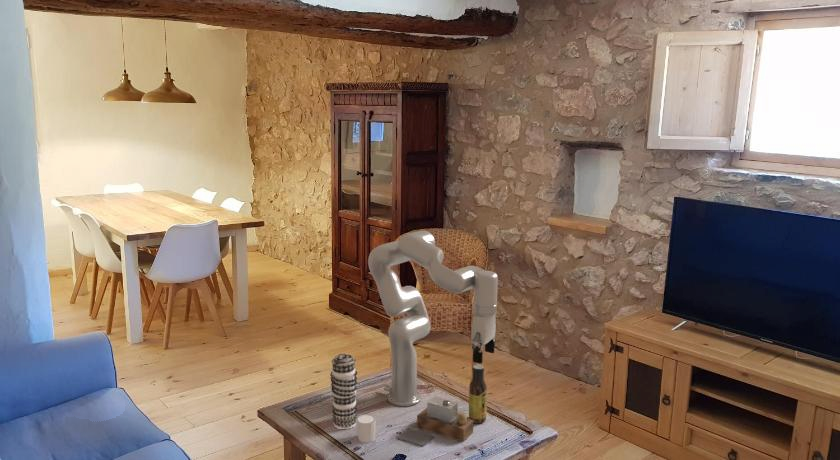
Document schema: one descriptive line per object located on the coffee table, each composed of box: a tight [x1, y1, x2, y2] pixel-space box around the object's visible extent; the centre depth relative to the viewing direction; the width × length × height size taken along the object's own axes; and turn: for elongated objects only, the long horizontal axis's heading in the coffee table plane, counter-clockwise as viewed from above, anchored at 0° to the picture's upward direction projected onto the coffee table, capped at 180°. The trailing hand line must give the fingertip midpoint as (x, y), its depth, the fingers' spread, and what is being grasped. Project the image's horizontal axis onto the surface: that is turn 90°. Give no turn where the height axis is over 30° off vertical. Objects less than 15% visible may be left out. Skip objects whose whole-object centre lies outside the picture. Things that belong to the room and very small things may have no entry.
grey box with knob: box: [426, 396, 459, 423], centre depth 215 cm, size 9×5×6 cm, turn 59°
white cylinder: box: [355, 413, 377, 443], centre depth 210 cm, size 7×7×7 cm
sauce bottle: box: [468, 364, 488, 424], centre depth 221 cm, size 7×6×20 cm
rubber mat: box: [396, 427, 435, 448], centre depth 211 cm, size 10×7×1 cm
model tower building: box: [329, 353, 358, 430], centre depth 218 cm, size 9×9×25 cm
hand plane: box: [416, 407, 474, 442], centre depth 215 cm, size 18×7×8 cm, turn 59°
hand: (483, 357), depth 210 cm, fingers open, 9 cm apart
